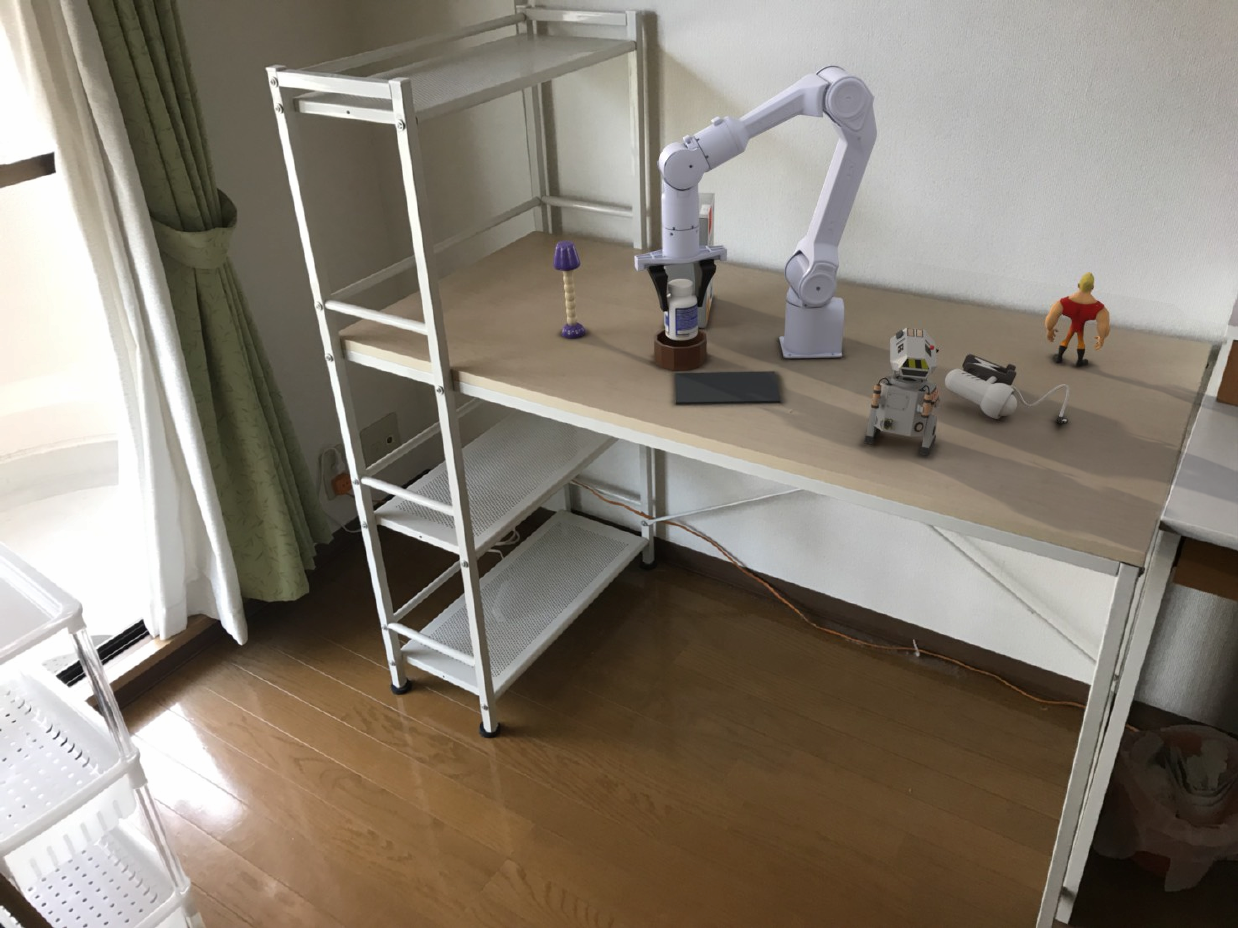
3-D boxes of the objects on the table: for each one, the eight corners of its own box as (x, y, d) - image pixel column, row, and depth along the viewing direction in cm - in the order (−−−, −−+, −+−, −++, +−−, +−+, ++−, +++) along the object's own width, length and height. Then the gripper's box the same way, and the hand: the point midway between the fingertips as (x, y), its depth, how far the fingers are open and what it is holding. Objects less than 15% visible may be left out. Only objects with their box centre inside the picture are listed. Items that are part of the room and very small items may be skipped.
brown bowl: (705, 347, 169) (705, 325, 167) (707, 369, 161) (707, 347, 159) (654, 348, 169) (654, 326, 167) (654, 370, 162) (653, 348, 160)
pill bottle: (703, 332, 163) (703, 280, 158) (687, 343, 159) (686, 291, 155) (676, 325, 166) (675, 275, 161) (659, 337, 162) (658, 285, 157)
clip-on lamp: (1071, 425, 147) (960, 372, 155) (1091, 389, 144) (976, 336, 151) (1049, 452, 139) (932, 395, 146) (1069, 415, 135) (949, 358, 143)
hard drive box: (707, 329, 175) (708, 218, 165) (663, 328, 176) (662, 218, 166) (713, 295, 188) (715, 191, 178) (673, 294, 189) (672, 190, 179)
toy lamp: (581, 340, 173) (575, 248, 164) (555, 339, 174) (548, 247, 165) (587, 329, 177) (582, 238, 168) (562, 328, 178) (555, 237, 169)
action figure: (1103, 363, 158) (1124, 273, 150) (1099, 372, 155) (1121, 281, 147) (1040, 352, 162) (1058, 264, 154) (1036, 361, 159) (1053, 272, 152)
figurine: (944, 425, 143) (958, 329, 135) (925, 463, 134) (939, 363, 127) (881, 413, 147) (892, 319, 139) (859, 449, 138) (869, 351, 130)
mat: (774, 373, 159) (774, 371, 159) (780, 402, 151) (781, 400, 151) (674, 375, 160) (674, 373, 160) (675, 404, 152) (675, 402, 151)
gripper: (717, 212, 158) (717, 292, 165) (628, 222, 155) (632, 303, 162) (731, 225, 152) (730, 308, 159) (639, 236, 149) (642, 319, 156)
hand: (681, 307), depth 160 cm, fingers closed on pill bottle, 5 cm apart
